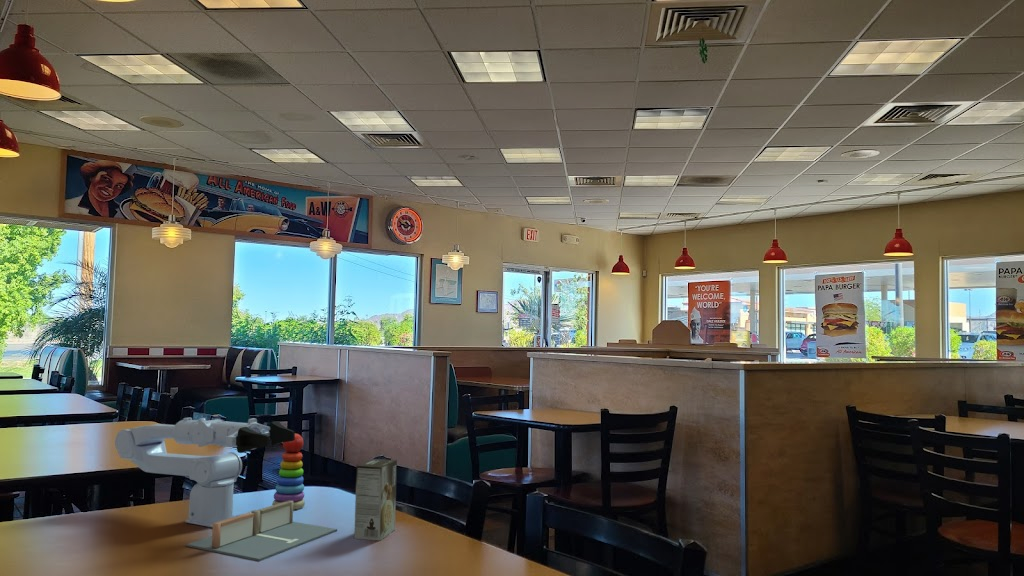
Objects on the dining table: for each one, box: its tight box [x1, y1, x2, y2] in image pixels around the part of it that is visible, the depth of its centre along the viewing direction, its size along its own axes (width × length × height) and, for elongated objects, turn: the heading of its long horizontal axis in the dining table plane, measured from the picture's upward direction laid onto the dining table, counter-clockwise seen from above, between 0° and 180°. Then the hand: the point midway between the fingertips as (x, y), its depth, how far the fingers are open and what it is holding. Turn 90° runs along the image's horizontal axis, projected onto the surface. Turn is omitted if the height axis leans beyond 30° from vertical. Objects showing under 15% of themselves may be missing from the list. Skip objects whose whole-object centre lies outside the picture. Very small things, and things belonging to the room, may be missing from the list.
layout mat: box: [186, 521, 338, 562], centre depth 154 cm, size 20×24×1 cm
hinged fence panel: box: [211, 512, 254, 548], centre depth 150 cm, size 10×2×5 cm, turn 156°
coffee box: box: [353, 458, 398, 542], centre depth 160 cm, size 9×6×16 cm
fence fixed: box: [250, 501, 294, 536], centre depth 161 cm, size 2×12×5 cm, turn 156°
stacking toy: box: [271, 432, 306, 511], centre depth 182 cm, size 8×8×19 cm
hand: (281, 438), depth 158 cm, fingers open, 7 cm apart
